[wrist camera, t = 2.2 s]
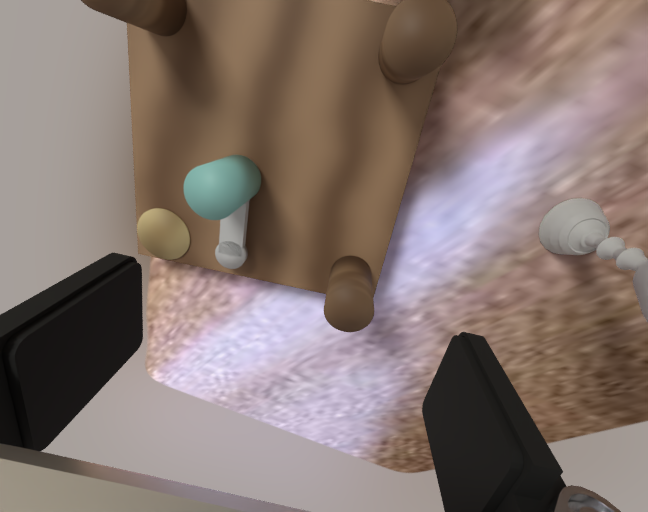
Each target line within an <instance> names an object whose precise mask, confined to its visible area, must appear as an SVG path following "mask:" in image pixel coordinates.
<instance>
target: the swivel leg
mask: <svg viewBox="0 0 648 512" xmlns="http://www.w3.org/2000/svg"><path fill="white" fill-rule="evenodd" d="M260 186H261V174H260V171H259V169H258V167H257V166H256V164H255V163H254V162H253V161H252V160H251V159H249V158H247V157H245V156H242V155H231V156H228V157H225V158H221V159H218V160H215V161H212V162H209V163H206V164H203V165H200V166H197V167H195V168H194V169H192V170H191V171H190V172H189V173H188V174H187V176H186V178H185V181H184V195H185V199H186V201H187V203H188V205H189V206H190V207H191V209H192V210H193V211H194V212H195V213H196V214H198V215H199V216H201V217H203V218H205V219H209V220H220V237H219V245H218V246H217V247H216V250H215V256H216V259H217V261H218V262H219V263H220V264H221V265H222V266H223V267H225V268H228V269H236V268H239V267H240V266H241V265H242V264H243V263H244V262H245V260H246V259H247V256H248V251H247V248H246V246H245V242H246V231H247V221H248V210H249V200H250V199H251V198H252V197H254V196H255V195H256V194H257V192H258V191H259V189H260Z"/></svg>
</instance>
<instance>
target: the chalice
mask: <svg viewBox="0 0 648 512" xmlns="http://www.w3.org/2000/svg"><path fill="white" fill-rule="evenodd" d="M609 230H610V226H609V222H608V220H607V219H606V216H605V215H604V213H603V211H602V209H601V208H600V206H599V205H598V204H597V203H595V202H594V201H592V200H589V199H584V198H575V199H569V200H567V201H564V202H561V203H559V204H558V205H556V206H555V207H553V208H552V209H551V210H550V211H549V212H548V213H547V214H546V215H545V216H544V218H543V220H542V222H541V224H540V228H539V237H540V242H541V243H542V245H543V246H544V247H545V248H546V249H547V250H549V251H551V252H552V253H557V254H567V255H584V254H587V253H590V252H593V251H595V250H596V249H597V251H596V252H597V255H598V257H599V258H601V259H605V260H607V259H612V258H614V259H615V260H616V265H617V266H618V268H620V269H624V270H628V269H631V270H634V271H636V273H635V275H634V278H633V286H634V289H635V292H636V295H637V298H638V301H639V304H640V307H641V311H642V314H643V315H644V317H645V319H646V320H647V322H648V259H647V258H646V257H645V256H644V252H643V251H642V250H641V249H639V248H630V249H627V248H625V243H624V241H623V239H621V238H619V237H611V238H608V239H607V237H608V235H609Z"/></svg>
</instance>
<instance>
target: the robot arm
mask: <svg viewBox="0 0 648 512" xmlns="http://www.w3.org/2000/svg"><path fill="white" fill-rule="evenodd" d="M142 322H143V320H142V269H141V265H140V264H139V263H137V261H136V259H135V258H134V257H131V256H126V255H122V254H118V253H111V254H109V255H107V256H105V257H103V258H101V259H100V260H98V261H96V262H94V263H93V264H91V265H89V266H87V267H85V268H83V269H82V270H80V271H78V272H76V273H74V274H73V275H71V276H69V277H67V278H66V279H64V280H62V281H60V282H58V283H57V284H55V285H53V286H51V287H49V288H48V289H46V290H44V291H42V292H40V293H39V294H37V295H35V296H33V297H32V298H30V299H28V300H26V301H24V302H23V303H21V304H19V305H17V306H15V307H14V308H12V309H10V310H8V311H7V312H5V313H3V314H1V315H0V512H309V511H305V510H300V509H296V508H291V507H287V506H283V505H278V504H274V503H269V502H265V501H261V500H256V499H252V498H247V497H243V496H238V495H234V494H230V493H225V492H221V491H216V490H212V489H207V488H203V487H198V486H194V485H189V484H185V483H181V482H176V481H171V480H167V479H162V478H158V477H154V476H149V475H145V474H140V473H136V472H131V471H127V470H122V469H117V468H113V467H108V466H103V465H99V464H95V463H90V462H86V461H81V460H76V459H72V458H67V457H62V456H58V455H54V454H49V453H44V452H40V451H42V450H43V449H45V448H46V447H47V446H48V445H49V444H50V443H51V442H52V441H53V440H54V439H55V438H56V437H57V436H58V435H59V433H60V432H61V431H62V430H63V429H64V428H65V427H66V426H67V425H68V424H69V423H70V422H71V421H72V419H73V418H74V417H75V416H76V415H77V414H78V413H79V412H80V411H81V410H82V409H83V408H84V406H85V405H86V404H87V403H88V402H89V401H90V400H91V399H92V398H93V397H94V396H95V395H96V394H97V393H98V392H99V391H100V389H101V388H102V387H103V386H104V385H105V384H106V383H107V382H108V381H109V380H110V379H111V378H112V377H113V376H114V374H115V373H116V372H117V371H118V370H119V369H120V368H121V367H122V366H123V365H124V364H125V363H126V362H127V361H128V359H129V358H130V357H131V356H132V355H133V354H134V353H135V352H136V351H137V350H138V348H139V347H140V345H141V343H142V339H143V325H142V324H143V323H142ZM422 412H423V418H424V422H425V426H426V431H427V435H428V440H429V444H430V448H431V453H432V457H433V462H434V466H435V470H436V474H437V479H438V483H439V487H440V492H441V496H442V501H443V505H444V510H445V512H621V511H620V510H618V509H617V508H616V507H615V506H613V505H612V504H611V503H610V502H608V501H607V500H606V499H604V498H603V497H601V496H599V495H598V494H596V493H595V492H593V491H590V490H587V489H585V488H583V487H579V486H572V485H571V486H568V487H567V486H566V485H565V483H564V481H563V479H562V478H561V476H560V475H561V474H562V473H563V471H562V469H561V467H560V465H559V464H558V462H557V460H556V459H555V457H554V455H553V454H552V452H551V450H550V448H549V447H548V445H547V443H546V442H545V440H544V438H543V436H542V435H541V433H540V431H539V430H538V428H537V426H536V425H535V423H534V421H533V419H532V418H531V416H530V414H529V413H528V411H527V409H526V408H525V406H524V404H523V402H522V401H521V399H520V397H519V396H518V394H517V392H516V390H515V389H514V387H513V385H512V384H511V382H510V380H509V379H508V377H507V375H506V373H505V372H504V370H503V368H502V367H501V365H500V363H499V361H498V360H497V358H496V356H495V355H494V353H493V351H492V350H491V348H490V346H489V344H488V343H487V341H486V339H485V338H484V337H483V336H479V335H475V334H471V333H466V332H461V333H460V334H459V336H457V335H455V336H453V337H452V339H451V341H450V344H449V346H448V348H447V350H446V352H445V355H444V357H443V359H442V361H441V364H440V366H439V368H438V370H437V373H436V375H435V377H434V379H433V381H432V384H431V386H430V388H429V390H428V393H427V395H426V397H425V399H424V402H423V408H422Z"/></svg>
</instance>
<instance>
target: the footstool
mask: <svg viewBox="0 0 648 512" xmlns="http://www.w3.org/2000/svg"><path fill="white" fill-rule="evenodd" d="M81 1H82V2H83V3H84V4H86V5H87V6H88V7H90V8H92V9H93V10H96V11H98V12H101V13H103V14H106V15H108V16H111V17H114V18H116V19H119V20H121V21H124V22H126V23H127V35H128V55H129V75H130V96H131V115H132V136H133V156H134V176H135V197H136V216H137V238H138V253H139V254H142V255H147V256H151V257H156V258H161V259H165V260H170V261H175V262H179V263H184V264H189V265H193V266H198V267H203V268H207V269H212V270H217V271H221V272H226V273H231V274H235V275H240V276H245V277H249V278H254V279H259V280H263V281H268V282H273V283H277V284H282V285H287V286H291V287H296V288H301V289H305V290H310V291H315V292H319V293H324V294H326V299H325V305H324V315H325V318H326V320H327V321H328V322H329V324H330V325H332V326H333V327H334V328H336V329H338V330H340V331H344V332H355V331H359V330H361V329H363V328H365V327H366V326H368V325H369V323H370V322H371V321H372V319H373V316H374V304H373V297H374V294H375V290H376V287H377V283H378V280H379V276H380V273H381V269H382V266H383V263H384V259H385V256H386V252H387V249H388V245H389V242H390V238H391V235H392V232H393V228H394V225H395V221H396V218H397V214H398V211H399V207H400V204H401V200H402V197H403V194H404V190H405V187H406V183H407V180H408V176H409V173H410V169H411V166H412V163H413V159H414V156H415V152H416V149H417V145H418V142H419V138H420V135H421V132H422V128H423V125H424V121H425V118H426V114H427V111H428V107H429V104H430V101H431V97H432V94H433V90H434V87H435V83H436V80H437V76H438V73H439V69H440V66H441V65H442V64H443V63H444V62H445V60H446V59H447V58H448V56H449V55H450V53H451V51H452V49H453V47H454V44H455V40H456V36H457V21H456V16H455V13H454V11H453V9H452V7H451V5H450V4H449V3H448V2H447V1H446V0H403V1H402V2H400V3H399V4H398V6H392V5H387V4H382V3H377V2H372V1H367V0H81ZM231 155H242V156H245V157H247V158H249V159H251V160H252V161H253V162H254V163H255V164H256V166H257V167H258V169H259V171H260V174H261V186H260V189H259V191H258V192H257V194H256V195H255V196H254V197H252V198H251V199H250V200H249V210H248V221H247V231H246V242H245V246H246V248H247V251H248V256H247V259H246V260H245V262H244V263H243V264H242V265H241V266H240V267H239V268H236V269H228V268H225V267H223V266H222V265H221V264H220V263H219V262H218V261H217V259H216V256H215V250H216V247H217V246H218V245H219V237H220V220H209V219H205V218H203V217H201V216H199V215H198V214H196V213H195V212H194V211H193V210H192V209H191V207H190V206H189V205H188V203H187V201H186V199H185V195H184V181H185V178H186V176H187V174H188V173H189V172H190V171H191V170H192V169H194V168H195V167H197V166H200V165H203V164H206V163H209V162H212V161H215V160H218V159H221V158H225V157H228V156H231Z"/></svg>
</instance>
